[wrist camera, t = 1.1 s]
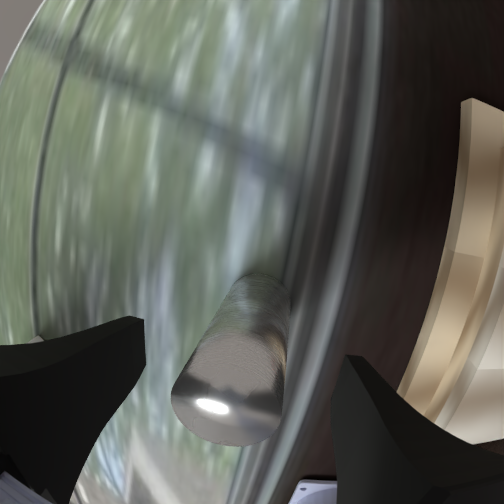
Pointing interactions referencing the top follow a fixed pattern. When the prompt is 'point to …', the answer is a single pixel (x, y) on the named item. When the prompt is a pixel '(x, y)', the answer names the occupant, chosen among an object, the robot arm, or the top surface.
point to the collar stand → (467, 295)
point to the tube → (238, 367)
